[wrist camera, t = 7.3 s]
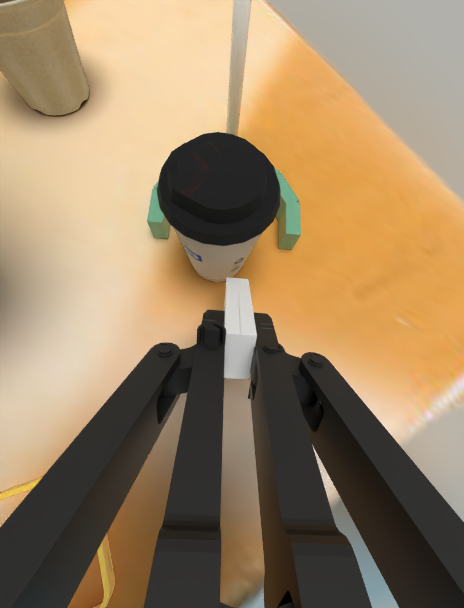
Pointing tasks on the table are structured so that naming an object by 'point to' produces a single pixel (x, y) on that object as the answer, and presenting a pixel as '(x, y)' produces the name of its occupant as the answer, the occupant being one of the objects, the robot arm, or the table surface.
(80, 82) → the flower pot
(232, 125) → the flag
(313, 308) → the table surface
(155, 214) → the cup ring
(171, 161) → the coffee cup
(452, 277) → the table surface
